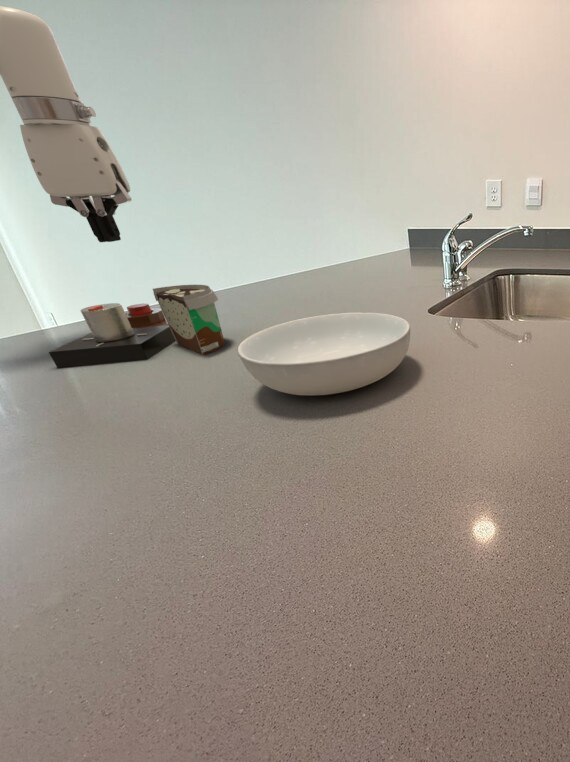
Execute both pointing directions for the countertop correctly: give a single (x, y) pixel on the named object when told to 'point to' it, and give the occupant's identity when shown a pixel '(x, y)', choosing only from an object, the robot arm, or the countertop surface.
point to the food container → (191, 316)
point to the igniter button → (139, 309)
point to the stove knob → (107, 322)
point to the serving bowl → (326, 352)
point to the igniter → (148, 319)
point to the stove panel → (113, 348)
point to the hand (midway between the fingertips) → (110, 240)
